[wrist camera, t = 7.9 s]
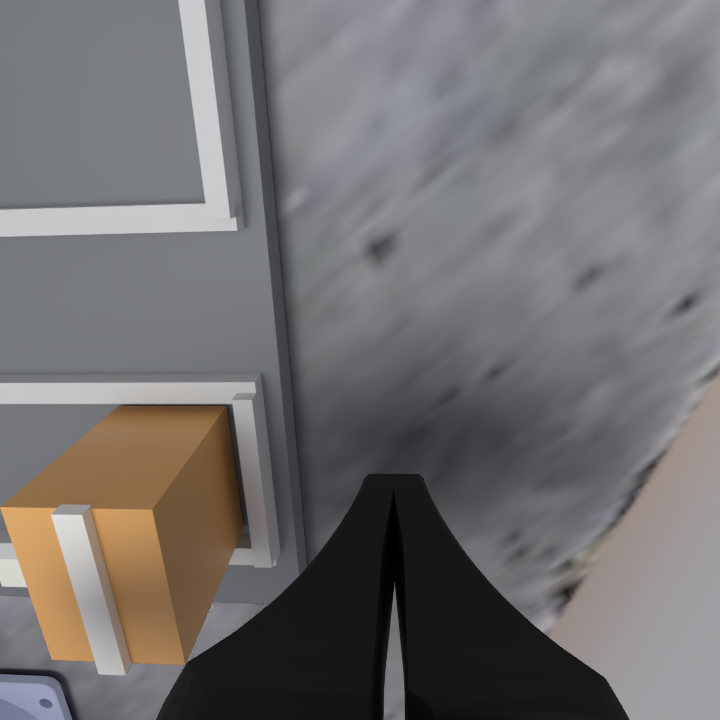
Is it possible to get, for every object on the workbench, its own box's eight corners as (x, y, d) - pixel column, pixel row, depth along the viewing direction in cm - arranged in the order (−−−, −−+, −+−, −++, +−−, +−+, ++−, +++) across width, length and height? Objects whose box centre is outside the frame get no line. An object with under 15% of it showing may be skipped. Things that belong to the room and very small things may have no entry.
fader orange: (243, 529, 15) (180, 677, 11) (145, 528, 15) (45, 672, 11) (226, 404, 13) (145, 515, 9) (118, 404, 14) (-11, 513, 9)
